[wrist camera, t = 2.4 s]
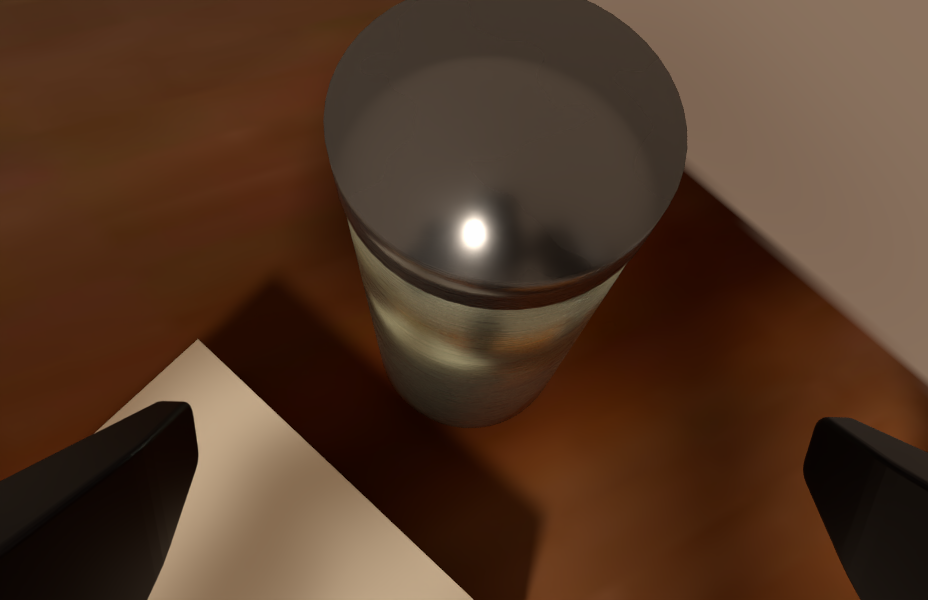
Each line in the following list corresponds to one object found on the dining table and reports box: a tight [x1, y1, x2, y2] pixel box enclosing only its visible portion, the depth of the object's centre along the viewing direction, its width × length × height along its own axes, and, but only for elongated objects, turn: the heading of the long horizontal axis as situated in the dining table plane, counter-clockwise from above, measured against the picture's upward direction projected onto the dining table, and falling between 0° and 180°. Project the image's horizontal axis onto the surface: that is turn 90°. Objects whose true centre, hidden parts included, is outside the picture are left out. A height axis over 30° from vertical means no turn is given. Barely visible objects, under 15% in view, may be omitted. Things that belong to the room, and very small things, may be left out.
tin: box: [324, 0, 687, 428], centre depth 16 cm, size 6×6×12 cm
